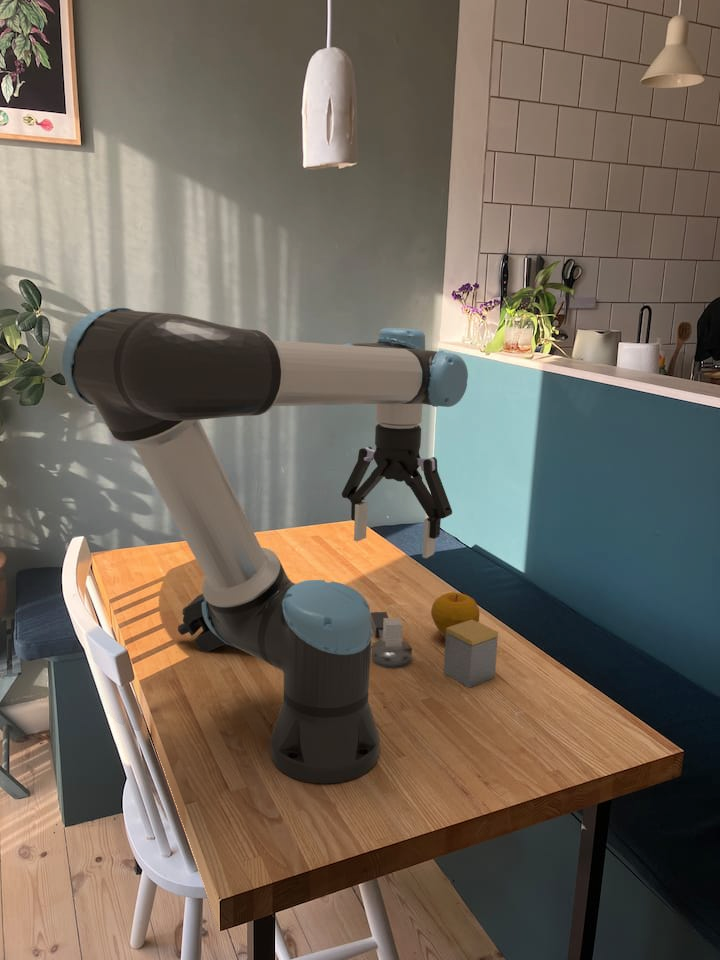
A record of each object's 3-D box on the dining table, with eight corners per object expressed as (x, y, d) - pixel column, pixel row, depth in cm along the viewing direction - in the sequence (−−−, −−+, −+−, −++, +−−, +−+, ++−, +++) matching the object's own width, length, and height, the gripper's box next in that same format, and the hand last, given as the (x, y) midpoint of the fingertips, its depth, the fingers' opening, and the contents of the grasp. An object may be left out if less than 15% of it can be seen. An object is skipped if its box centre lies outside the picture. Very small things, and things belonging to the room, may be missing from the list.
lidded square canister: (494, 677, 134) (498, 631, 132) (469, 687, 131) (472, 641, 129) (469, 663, 139) (471, 619, 137) (443, 673, 135) (446, 627, 133)
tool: (295, 648, 136) (252, 572, 135) (203, 687, 142) (161, 614, 140) (304, 633, 142) (263, 560, 140) (216, 671, 148) (176, 601, 146)
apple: (420, 633, 150) (422, 588, 148) (459, 625, 154) (462, 581, 152) (446, 654, 142) (449, 606, 140) (488, 644, 146) (491, 598, 144)
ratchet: (415, 667, 137) (416, 629, 135) (374, 668, 136) (375, 630, 134) (395, 621, 155) (397, 587, 153) (359, 622, 154) (361, 588, 152)
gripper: (477, 430, 128) (469, 556, 133) (348, 412, 141) (345, 527, 147) (456, 437, 122) (448, 569, 127) (323, 417, 135) (321, 538, 141)
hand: (393, 547), depth 137 cm, fingers open, 13 cm apart
